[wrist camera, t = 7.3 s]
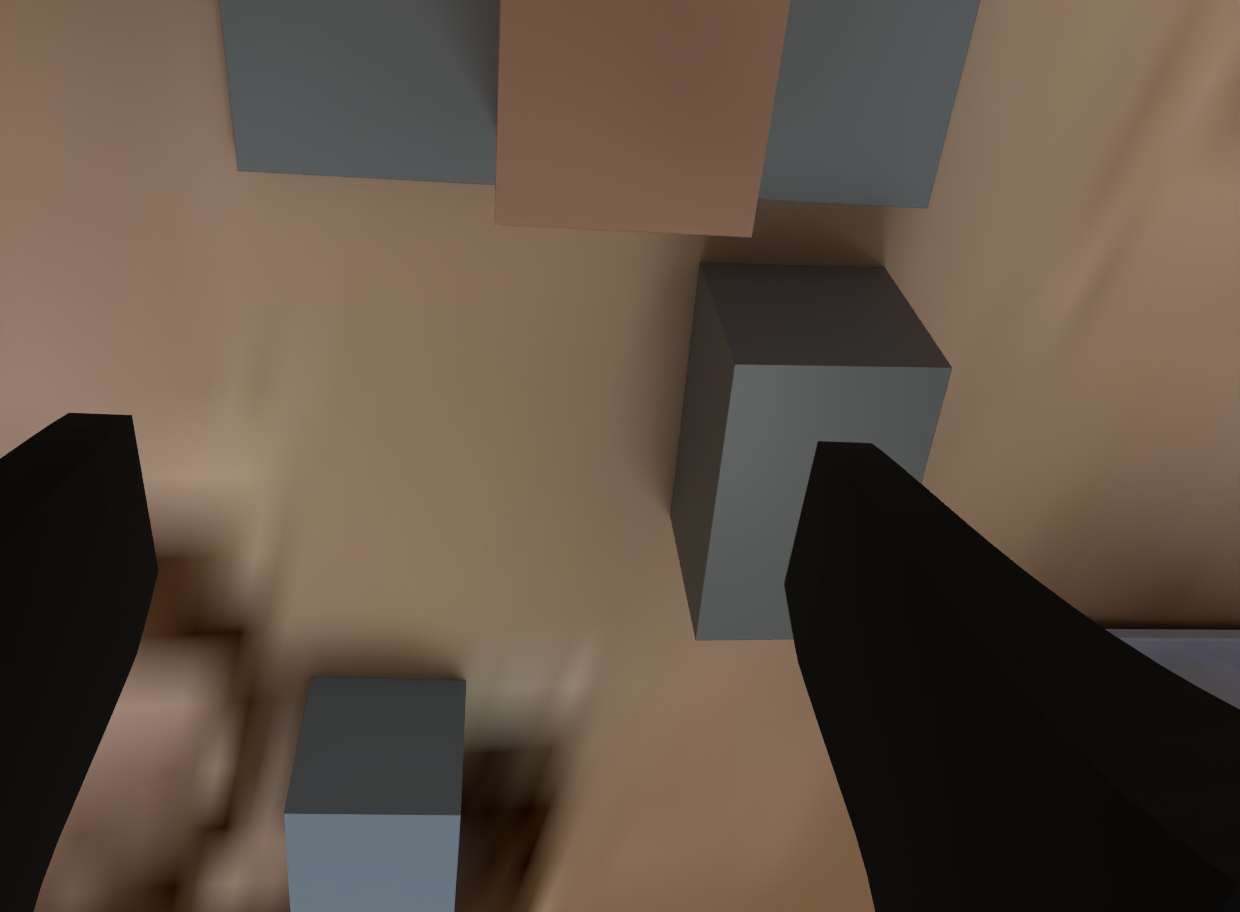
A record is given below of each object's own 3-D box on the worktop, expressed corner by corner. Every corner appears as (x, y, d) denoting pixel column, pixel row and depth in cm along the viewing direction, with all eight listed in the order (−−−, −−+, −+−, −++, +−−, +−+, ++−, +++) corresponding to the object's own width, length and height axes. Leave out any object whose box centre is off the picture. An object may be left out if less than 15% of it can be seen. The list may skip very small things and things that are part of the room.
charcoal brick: (883, 264, 21) (951, 367, 18) (829, 512, 25) (879, 638, 21) (698, 259, 21) (735, 364, 18) (669, 513, 24) (695, 640, 21)
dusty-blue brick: (466, 677, 27) (460, 815, 23) (455, 836, 30) (449, 976, 27) (311, 672, 26) (283, 814, 23) (319, 834, 29) (295, 978, 26)
